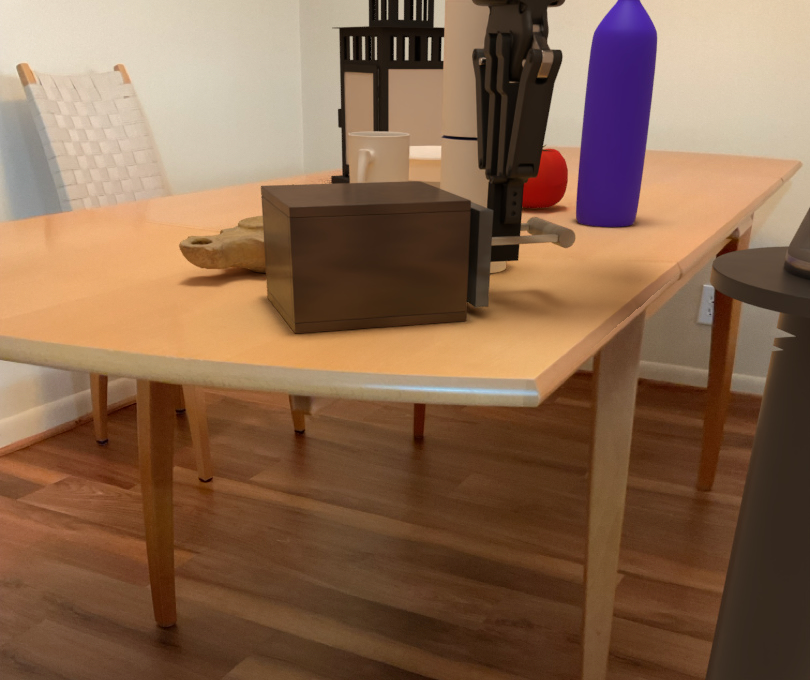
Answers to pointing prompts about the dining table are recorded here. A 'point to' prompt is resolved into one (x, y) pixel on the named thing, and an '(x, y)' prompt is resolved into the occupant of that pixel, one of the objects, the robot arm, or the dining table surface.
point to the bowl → (425, 164)
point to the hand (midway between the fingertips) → (501, 259)
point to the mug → (379, 157)
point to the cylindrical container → (462, 105)
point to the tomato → (547, 181)
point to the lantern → (391, 77)
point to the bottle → (616, 116)
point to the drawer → (483, 241)
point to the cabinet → (365, 254)
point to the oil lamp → (229, 247)
